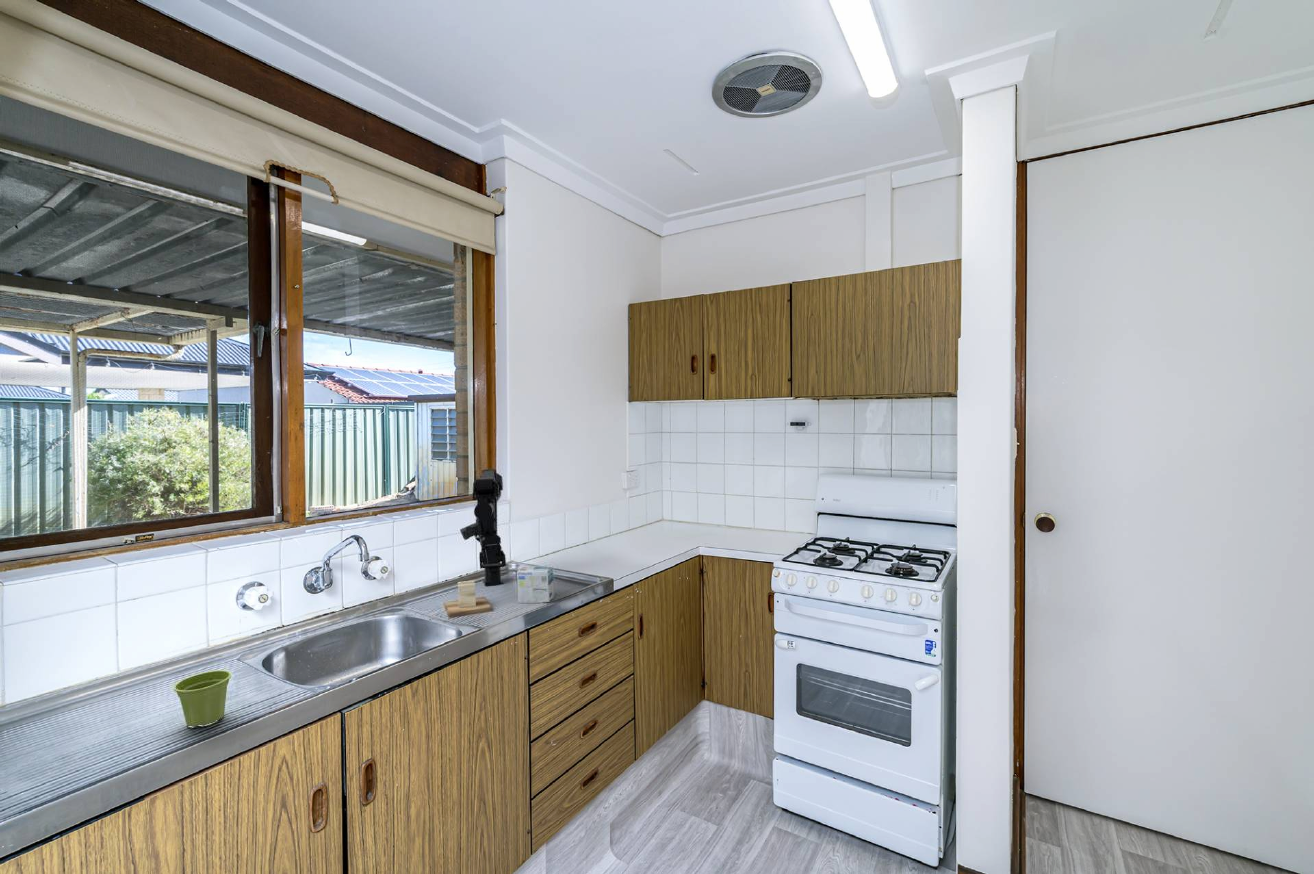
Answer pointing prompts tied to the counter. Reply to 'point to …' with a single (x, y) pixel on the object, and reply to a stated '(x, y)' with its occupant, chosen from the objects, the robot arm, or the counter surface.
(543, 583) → the light bulb box
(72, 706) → the counter surface
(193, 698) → the plant pot
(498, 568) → the robot arm
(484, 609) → the tan wooden panel
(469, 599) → the beech block
